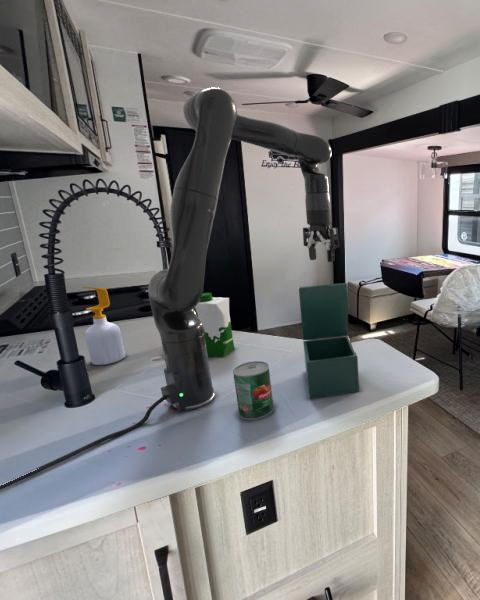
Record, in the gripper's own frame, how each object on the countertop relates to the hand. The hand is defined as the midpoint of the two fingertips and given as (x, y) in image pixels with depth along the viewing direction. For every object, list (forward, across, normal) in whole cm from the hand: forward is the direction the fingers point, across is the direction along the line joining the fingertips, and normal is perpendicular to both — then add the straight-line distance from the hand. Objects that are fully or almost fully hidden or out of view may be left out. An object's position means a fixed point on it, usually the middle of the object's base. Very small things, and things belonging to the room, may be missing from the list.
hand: (322, 260), depth 122 cm
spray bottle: (+30, -50, -50) cm, 76 cm away
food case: (+29, +20, -17) cm, 39 cm away
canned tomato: (+30, +17, -38) cm, 51 cm away
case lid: (+11, +16, -14) cm, 24 cm away
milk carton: (+30, -26, -25) cm, 46 cm away
